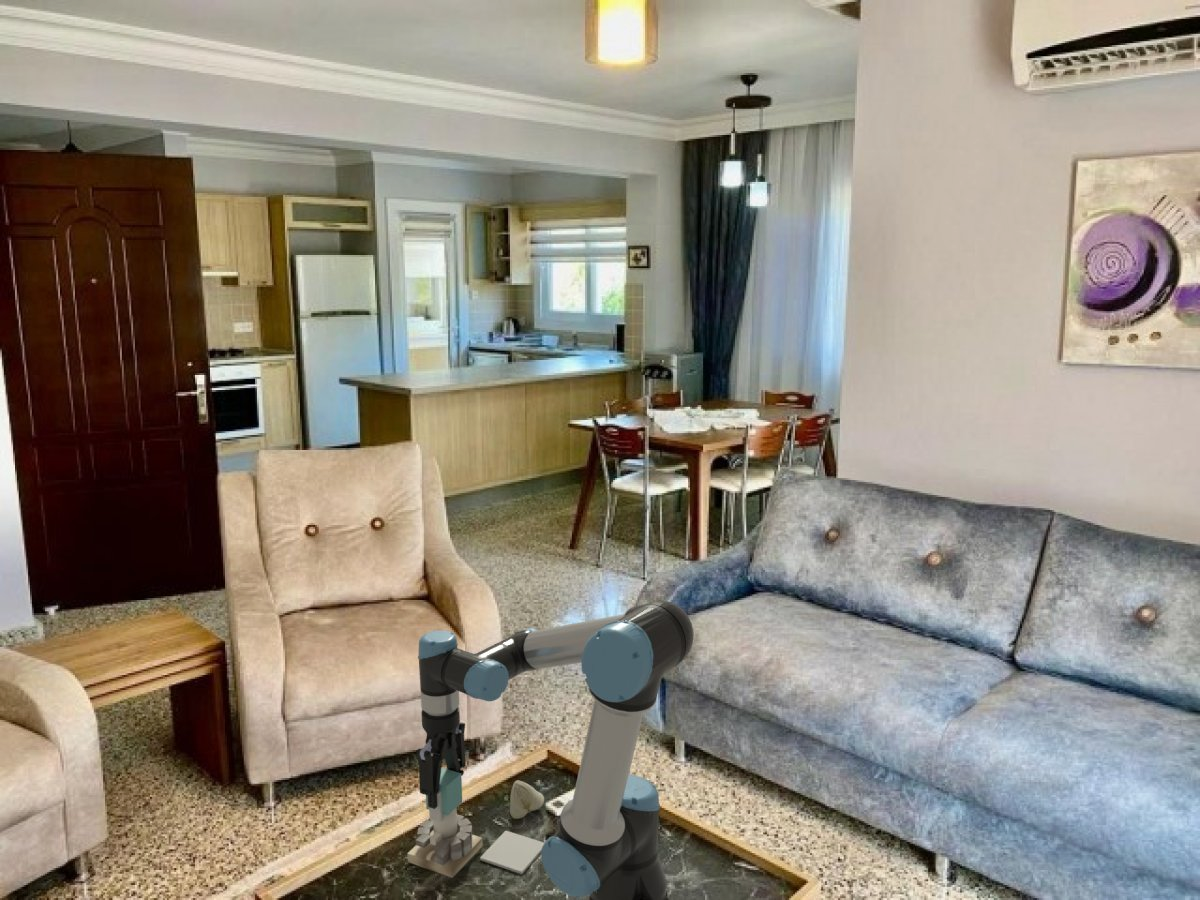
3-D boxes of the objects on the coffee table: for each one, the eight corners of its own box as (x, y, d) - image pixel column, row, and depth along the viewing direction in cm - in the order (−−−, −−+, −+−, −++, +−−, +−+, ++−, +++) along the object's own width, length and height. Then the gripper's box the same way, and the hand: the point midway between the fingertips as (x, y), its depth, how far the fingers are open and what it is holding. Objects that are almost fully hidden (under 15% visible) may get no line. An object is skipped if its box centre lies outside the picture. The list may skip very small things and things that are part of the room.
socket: (482, 846, 192) (481, 822, 191) (452, 877, 183) (451, 852, 181) (439, 832, 197) (438, 808, 196) (407, 861, 187) (406, 837, 186)
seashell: (509, 818, 198) (497, 786, 203) (519, 831, 204) (507, 799, 210) (543, 801, 199) (531, 769, 204) (552, 814, 205) (539, 783, 211)
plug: (442, 823, 192) (440, 767, 189) (463, 830, 190) (461, 773, 187) (422, 842, 186) (419, 784, 183) (443, 849, 184) (441, 791, 181)
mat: (546, 845, 192) (546, 843, 192) (522, 874, 184) (522, 871, 184) (505, 832, 197) (505, 830, 197) (480, 860, 188) (480, 857, 188)
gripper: (451, 684, 192) (455, 784, 197) (396, 724, 176) (402, 831, 181) (481, 692, 189) (484, 793, 194) (428, 732, 173) (433, 841, 178)
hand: (444, 811), depth 188 cm, fingers closed on plug, 5 cm apart
